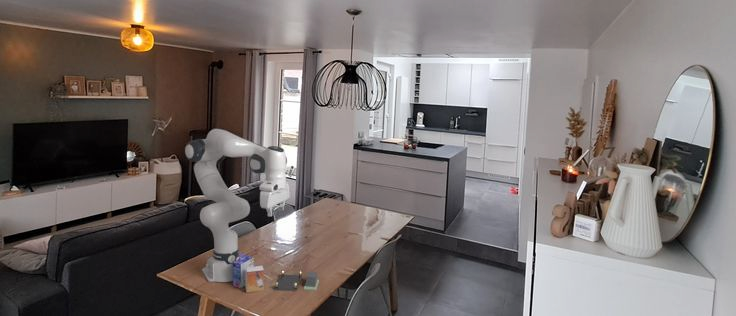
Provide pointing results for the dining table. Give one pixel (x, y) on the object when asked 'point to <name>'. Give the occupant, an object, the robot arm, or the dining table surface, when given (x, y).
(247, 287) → the small box
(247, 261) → the ink cartridge box
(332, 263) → the dining table surface
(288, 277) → the chassis plate
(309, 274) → the circuit board
